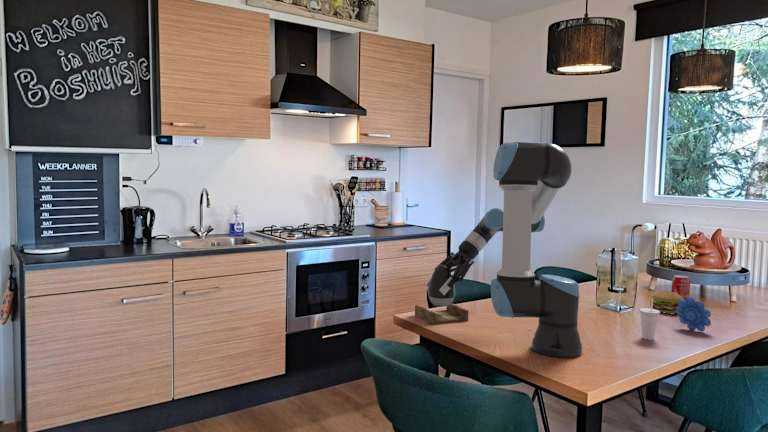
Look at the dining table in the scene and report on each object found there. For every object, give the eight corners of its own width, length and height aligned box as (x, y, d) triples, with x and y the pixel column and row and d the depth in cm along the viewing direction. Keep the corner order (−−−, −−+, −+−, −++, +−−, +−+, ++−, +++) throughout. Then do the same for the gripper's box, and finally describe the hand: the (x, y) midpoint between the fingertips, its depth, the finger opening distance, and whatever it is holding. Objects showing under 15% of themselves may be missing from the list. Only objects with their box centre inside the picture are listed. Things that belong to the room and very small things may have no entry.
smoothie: (657, 342, 189) (659, 301, 188) (636, 338, 192) (638, 298, 191) (659, 337, 194) (661, 297, 193) (639, 334, 198) (641, 295, 196)
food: (687, 317, 224) (688, 297, 223) (648, 312, 230) (649, 292, 230) (688, 310, 235) (689, 291, 235) (651, 305, 242) (652, 287, 242)
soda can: (672, 300, 252) (673, 274, 251) (689, 303, 248) (691, 276, 247) (669, 303, 246) (671, 276, 245) (687, 306, 242) (689, 278, 241)
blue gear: (670, 329, 205) (673, 296, 204) (676, 325, 210) (678, 293, 209) (706, 336, 197) (709, 302, 196) (712, 332, 202) (714, 299, 201)
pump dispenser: (454, 308, 207) (455, 267, 206) (426, 307, 209) (427, 266, 208) (456, 302, 217) (457, 263, 216) (429, 300, 219) (430, 261, 218)
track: (468, 321, 210) (468, 310, 210) (432, 324, 204) (433, 314, 204) (448, 312, 223) (448, 302, 223) (414, 315, 217) (415, 305, 216)
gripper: (494, 257, 208) (456, 302, 203) (461, 248, 228) (426, 290, 223) (483, 243, 205) (444, 289, 200) (450, 236, 226) (414, 277, 220)
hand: (434, 289), depth 212 cm, fingers closed on pump dispenser, 10 cm apart
